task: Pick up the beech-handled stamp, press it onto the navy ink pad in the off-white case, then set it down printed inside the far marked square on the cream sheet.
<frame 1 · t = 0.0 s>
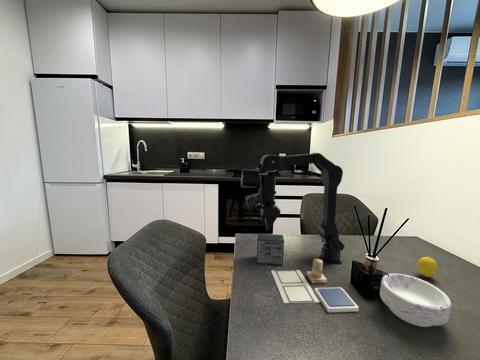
hand: (265, 226, 86), 15 cm above the table, fingers open, 9 cm apart
paper bowls: (409, 314, 62), on the table
stamp: (316, 279, 76), on the table
small box: (269, 261, 88), on the table
ink pad: (335, 300, 66), on the table
print sheet: (292, 285, 73), on the table
lemon: (425, 277, 80), on the table
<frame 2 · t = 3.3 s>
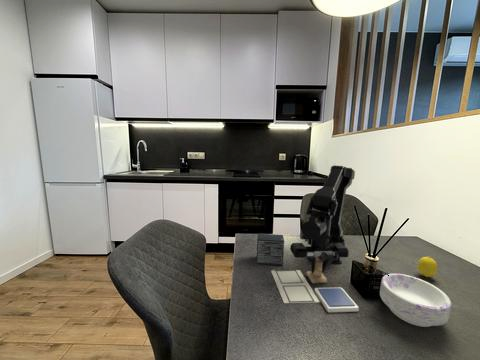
hand: (316, 272, 76), 3 cm above the table, fingers closed on stamp, 3 cm apart
stamp: (316, 279, 76), on the table, touching gripper
everything else where it was.
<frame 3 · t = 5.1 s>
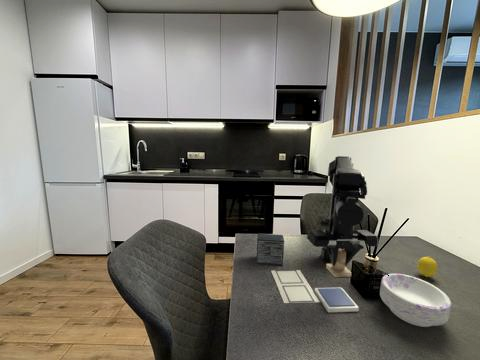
hand: (338, 265, 64), 12 cm above the table, fingers closed on stamp, 3 cm apart
stamp: (338, 273, 64), point 9 cm above the table, touching gripper
everything else where it was.
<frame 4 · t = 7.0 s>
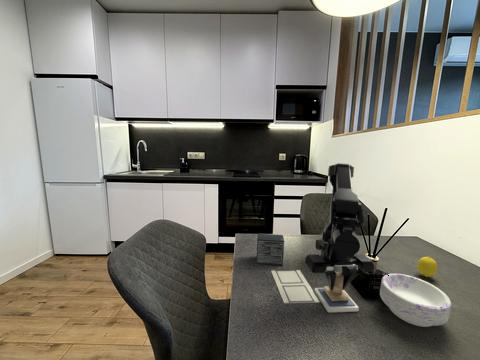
hand: (336, 289, 65), 4 cm above the table, fingers closed on stamp, 3 cm apart
stamp: (335, 296, 66), point 1 cm above the table, touching gripper, ink pad
everything else where it was.
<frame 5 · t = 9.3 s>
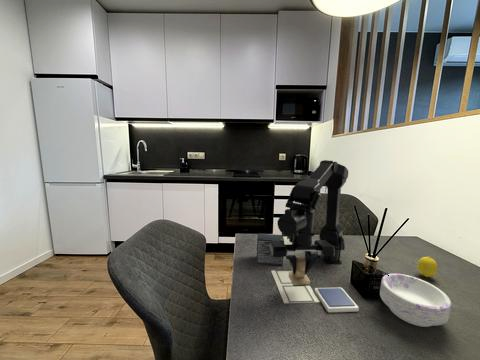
hand: (299, 273, 67), 7 cm above the table, fingers closed on stamp, 3 cm apart
stamp: (298, 280, 68), point 5 cm above the table, touching gripper
everything else where it was.
when the fingers open (3 cm above the table, at t = 11.2 s): stamp stays where it is, resting on print sheet.
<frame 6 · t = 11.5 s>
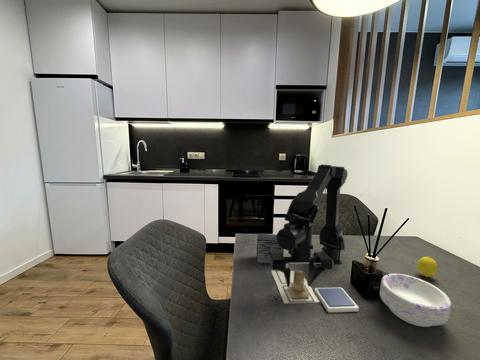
hand: (298, 285, 68), 3 cm above the table, fingers open, 6 cm apart
stamp: (297, 293, 68), resting on print sheet
everything else where it was.
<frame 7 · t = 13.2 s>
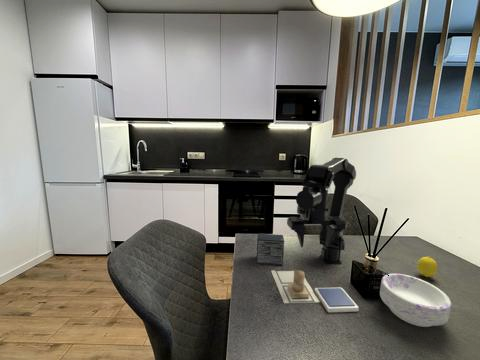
hand: (314, 246, 75), 12 cm above the table, fingers open, 9 cm apart
nothing on the table moved.
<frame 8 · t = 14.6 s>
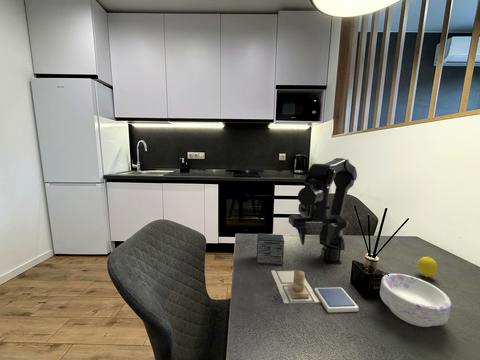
hand: (315, 244, 76), 13 cm above the table, fingers open, 9 cm apart
nothing on the table moved.
at the end: stamp 0.0 cm from the target spot on the print sheet, point 0.2 cm above the print sheet's base; stamp tilted 0°; the gripper is holding nothing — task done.
